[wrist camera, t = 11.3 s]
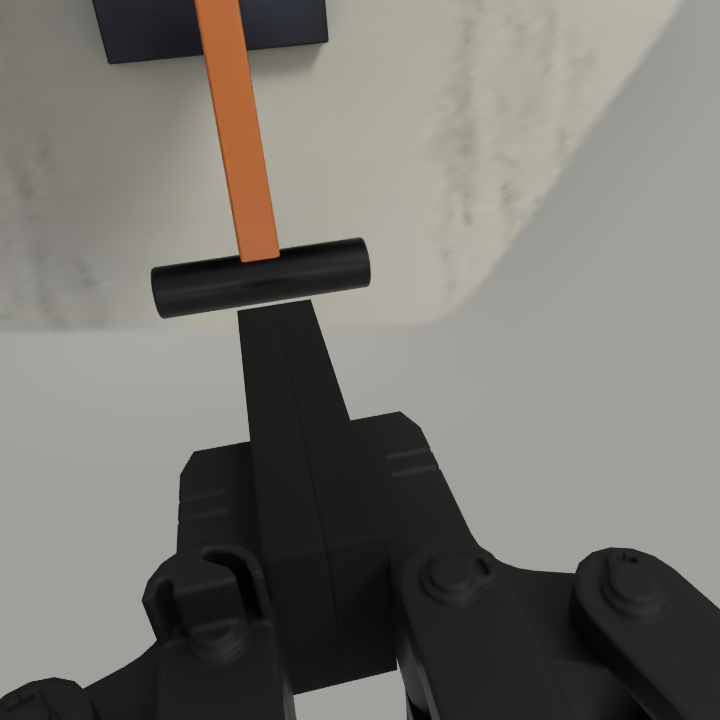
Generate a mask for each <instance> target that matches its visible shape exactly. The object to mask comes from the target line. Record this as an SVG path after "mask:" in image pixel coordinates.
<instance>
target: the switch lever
mask: <svg viewBox="0 0 720 720" xmlns="http://www.w3.org/2000/svg"><path fill="white" fill-rule="evenodd" d="M194 1H195V6H196V12H197V18H198V23H199V29H200V35H201V40H202V46H203V52H204V57H205V63H206V68H207V74H208V80H209V85H210V91H211V97H212V102H213V108H214V114H215V119H216V125H217V131H218V136H219V142H220V147H221V153H222V159H223V164H224V170H225V176H226V181H227V187H228V193H229V198H230V204H231V210H232V215H233V221H234V226H235V232H236V238H237V243H238V249H239V255H236V256H229V257H222V258H215V259H208V260H201V261H195V262H188V263H181V264H174V265H167V266H160V267H154V268H153V269H152V270H151V285H152V292H153V297H154V301H155V305H156V308H157V311H158V313H159V315H160V317H161V318H164V319H165V318H171V317H177V316H184V315H190V314H197V313H203V312H209V311H216V310H222V309H228V308H235V307H241V306H247V305H254V304H260V303H266V302H273V301H279V300H286V299H292V298H298V297H305V296H311V295H317V294H324V293H330V292H336V291H343V290H349V289H356V288H362V287H367V286H369V284H370V280H371V270H370V261H369V255H368V251H367V247H366V244H365V242H364V240H363V239H362V238H360V237H359V238H352V239H345V240H339V241H332V242H325V243H318V244H311V245H304V246H297V247H291V248H284V249H279V245H278V239H277V233H276V227H275V221H274V215H273V209H272V203H271V197H270V191H269V185H268V178H267V172H266V166H265V160H264V154H263V148H262V142H261V136H260V130H259V124H258V118H257V111H256V105H255V99H254V93H253V87H252V81H251V75H250V69H249V63H248V57H247V51H246V45H245V38H244V32H243V26H242V20H241V14H240V8H239V2H238V0H194Z"/></svg>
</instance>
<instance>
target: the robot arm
mask: <svg viewBox="0 0 720 720" xmlns="http://www.w3.org/2000/svg"><path fill="white" fill-rule="evenodd" d="M237 314H238V323H239V333H240V342H241V353H242V363H243V373H244V382H245V392H246V402H247V412H248V422H249V432H250V441H249V442H243V443H238V444H232V445H227V446H222V447H216V448H211V449H206V450H200V451H195V452H193V454H192V456H191V457H190V460H189V461H188V462H187V464H186V466H185V468H184V469H183V471H182V473H181V475H180V490H179V501H180V504H179V511H178V513H179V514H178V521H179V524H178V533H177V553H176V554H175V555H173V556H172V557H170V558H169V559H167V560H166V561H165V562H163V563H162V564H161V565H160V566H159V568H158V569H157V570H156V572H155V573H154V574H153V575H152V576H151V578H150V579H149V580H148V583H147V585H146V588H145V592H144V595H143V598H142V603H143V605H144V608H145V610H146V613H147V616H148V618H149V621H150V623H151V626H152V628H153V631H154V633H155V636H156V638H157V641H156V642H155V643H154V644H153V645H152V646H151V647H150V648H149V649H148V650H147V651H146V652H144V653H143V654H142V655H141V656H140V657H139V658H137V659H136V660H134V661H132V662H131V663H129V664H128V665H126V666H125V667H123V668H121V669H119V670H117V671H116V672H114V673H112V674H110V675H108V676H106V677H104V678H103V679H101V680H99V681H97V682H95V683H93V684H91V685H89V686H87V687H86V688H84V689H82V688H81V687H80V686H79V685H78V684H77V683H76V682H75V681H71V680H65V679H61V678H56V677H54V678H48V679H43V680H38V681H32V682H30V683H27V684H25V685H24V686H21V687H19V688H18V689H16V690H14V691H12V692H10V693H8V694H6V695H5V696H3V697H2V698H1V699H0V720H296V714H295V706H294V698H293V695H296V694H300V693H304V692H308V691H313V690H317V689H321V688H325V687H329V686H333V685H337V684H341V683H345V682H349V681H353V680H358V679H362V678H366V677H370V676H374V675H378V674H382V673H386V672H390V671H395V670H397V660H398V663H399V667H400V671H401V674H402V678H403V681H404V685H405V691H406V710H407V720H720V609H719V608H718V607H716V606H715V605H714V604H713V603H712V602H711V601H710V600H709V599H708V598H706V597H705V596H704V595H703V594H702V593H701V592H700V591H698V590H697V589H696V588H695V587H694V586H693V585H692V584H690V583H689V582H688V581H687V580H686V579H685V578H683V577H682V576H681V575H680V574H679V573H678V572H676V570H674V569H673V568H672V567H670V566H668V565H667V564H665V563H664V562H662V561H661V560H659V559H658V558H656V557H655V556H652V555H649V554H646V553H644V552H641V551H637V550H635V549H628V548H612V547H610V548H607V549H603V550H599V551H595V552H592V553H591V554H590V555H589V556H587V557H586V558H585V559H584V560H582V561H581V562H580V563H579V565H578V568H577V570H576V573H559V572H544V571H532V570H526V569H520V568H516V567H513V566H511V565H507V564H505V563H502V562H501V561H499V560H497V559H496V558H495V557H494V556H493V555H492V554H491V553H490V552H488V551H487V550H485V549H483V548H482V547H480V546H479V545H478V543H477V542H476V540H475V539H474V537H473V536H472V534H471V532H470V530H469V528H468V526H467V524H466V522H465V520H464V518H463V516H462V513H461V511H460V509H459V507H458V505H457V503H456V501H455V499H454V497H453V495H452V493H451V490H450V489H449V486H448V484H447V482H446V480H445V478H444V476H443V474H442V472H441V470H439V466H438V463H437V461H436V459H435V457H434V455H433V453H432V452H431V450H430V446H429V444H428V442H427V440H426V438H425V436H424V434H423V432H422V430H421V428H420V427H419V426H418V425H417V424H416V423H414V422H413V421H411V420H410V419H409V418H408V417H406V416H405V415H404V414H403V413H402V412H400V411H399V412H394V413H389V414H383V415H378V416H372V417H367V418H362V419H356V420H351V421H350V418H349V415H348V412H347V409H346V406H345V403H344V400H343V397H342V394H341V391H340V388H339V385H338V382H337V379H336V375H335V373H334V369H333V366H332V363H331V360H330V357H329V355H328V351H327V348H326V345H325V342H324V339H323V336H322V333H321V330H320V327H319V324H318V321H317V318H316V315H315V312H314V309H313V306H312V302H311V299H309V300H303V301H296V302H290V303H284V304H277V305H271V306H265V307H258V308H252V309H246V310H239V311H237ZM396 657H397V658H396Z"/></svg>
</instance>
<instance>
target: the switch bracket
mask: <svg viewBox="0 0 720 720" xmlns="http://www.w3.org/2000/svg"><path fill="white" fill-rule="evenodd" d="M92 2H93V6H94V10H95V14H96V17H97V21H98V25H99V29H100V33H101V37H102V41H103V45H104V49H105V52H106V56H107V60H108V63H109V64H120V63H130V62H140V61H150V60H160V59H169V58H179V57H189V56H199V55H204V52H203V46H202V40H201V35H200V29H199V23H198V18H197V12H196V6H195V1H194V0H92ZM238 2H239V8H240V14H241V20H242V26H243V32H244V38H245V45H246V51H249V50H258V49H268V48H278V47H288V46H298V45H308V44H318V43H327V42H328V40H329V39H328V28H327V16H326V5H325V0H238Z"/></svg>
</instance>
